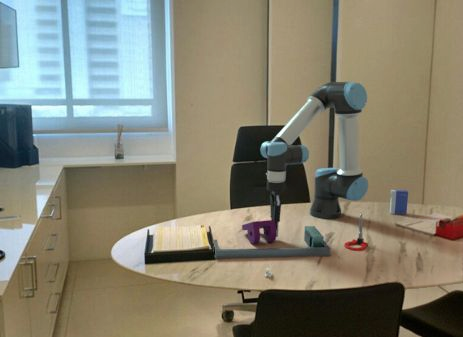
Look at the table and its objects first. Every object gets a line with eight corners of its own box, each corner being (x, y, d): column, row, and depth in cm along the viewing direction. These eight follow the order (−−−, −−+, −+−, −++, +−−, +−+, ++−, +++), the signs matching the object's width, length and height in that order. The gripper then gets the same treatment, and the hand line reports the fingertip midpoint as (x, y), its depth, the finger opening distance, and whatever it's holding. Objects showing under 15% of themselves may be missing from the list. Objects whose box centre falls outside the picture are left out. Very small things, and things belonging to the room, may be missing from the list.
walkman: (404, 212, 243) (406, 189, 241) (406, 214, 240) (408, 190, 238) (388, 212, 243) (390, 189, 241) (390, 214, 241) (392, 190, 238)
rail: (313, 235, 207) (314, 221, 206) (330, 256, 183) (330, 240, 182) (211, 237, 203) (211, 223, 201) (215, 258, 179) (215, 243, 178)
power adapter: (265, 275, 165) (266, 266, 165) (273, 276, 165) (273, 267, 164) (264, 278, 163) (264, 269, 162) (271, 279, 162) (271, 270, 161)
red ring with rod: (359, 253, 187) (370, 246, 194) (360, 221, 184) (372, 215, 191) (340, 248, 193) (351, 241, 199) (341, 217, 190) (352, 211, 197)
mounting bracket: (241, 245, 207) (255, 243, 190) (239, 226, 208) (252, 221, 192) (261, 243, 210) (277, 240, 193) (259, 224, 211) (274, 219, 194)
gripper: (264, 177, 201) (263, 231, 206) (269, 184, 189) (268, 241, 193) (282, 177, 202) (280, 231, 207) (288, 184, 189) (286, 241, 194)
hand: (274, 236), depth 200 cm, fingers closed
